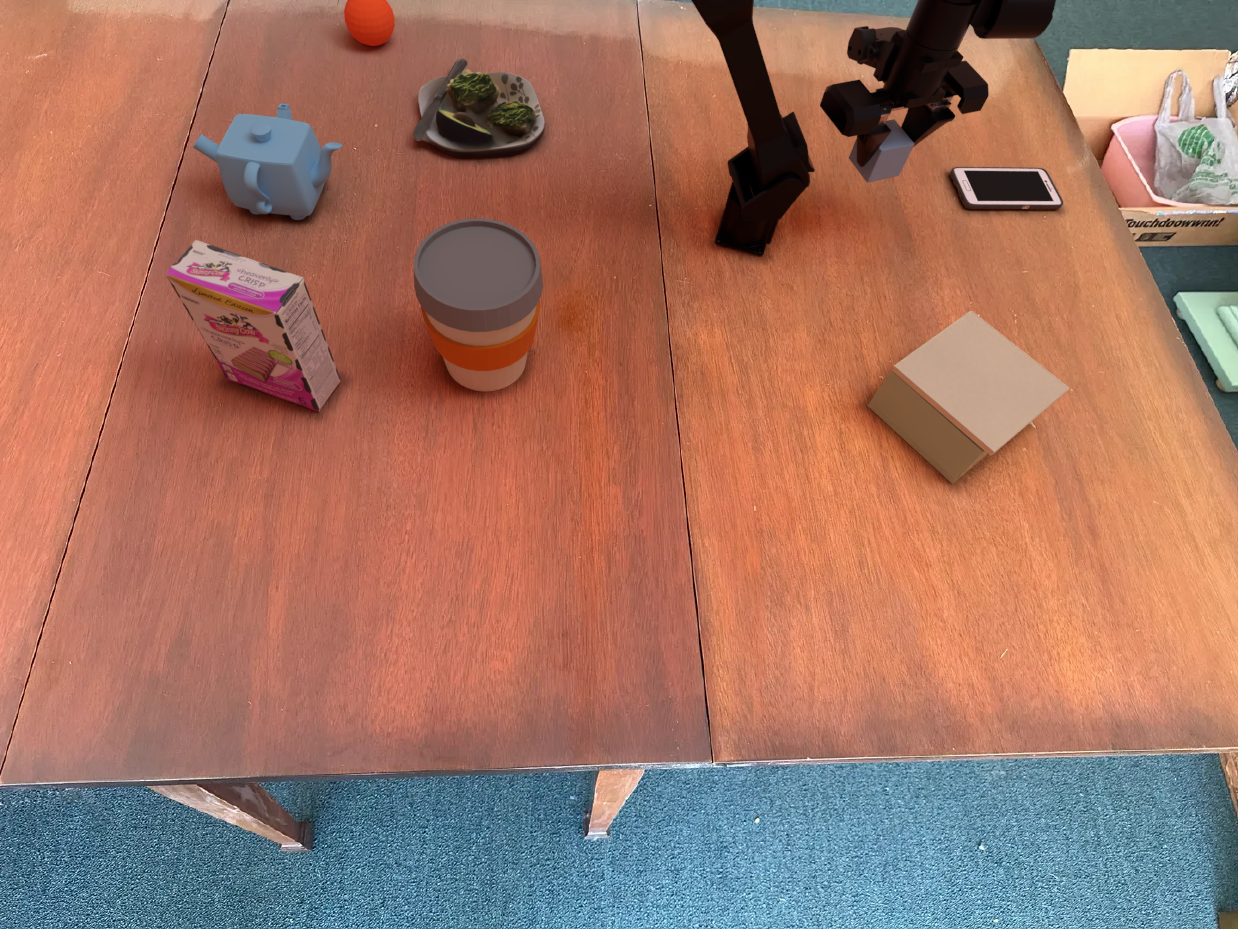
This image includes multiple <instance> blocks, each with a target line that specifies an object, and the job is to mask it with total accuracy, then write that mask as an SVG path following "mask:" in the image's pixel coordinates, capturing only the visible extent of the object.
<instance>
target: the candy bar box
mask: <svg viewBox="0 0 1238 929" xmlns="http://www.w3.org/2000/svg"><path fill="white" fill-rule="evenodd" d="M165 277H166V278H167V280H168V281H169V283H170V285H171V287H172V288H173V290H174V292H175V293H176V295H177V297H178V299H179V300H180V302H181V303H182V305H183V307H184V309H185V310H186V312H187V314H188V315H189V317H190V319H191V321H192V322H193V324H194V325H195V327H196V328H197V330H198V332H199V333H200V335H201V337H202V340H203V341H204V342H205V344H206V346H207V348H208V349H209V350H210V352H211V354H212V356H213V358H214V359H215V360H216V363H217V364H218V366H219V367H220V370H221V371H222V373H223V375H224V376H225V379H226V380H228V381H229V382H233V383H236V384H239V385H242V386H245V387H247V388H250V389H253V390H256V391H259V392H262V393H265V394H266V395H270V396H273V397H276V398H278V399H281V400H283V401H286V402H289V403H292V404H296V405H298V406H301V407H303V408H306V409H309V410H312V411H314V412H317V413H320V412H321V411H322V410H323V408H324V407H325V405H326V404H327V402H328V400H329V398H330V397H331V395H332V394H333V393H334V392H335V390H336V389H337V387H338V386H339V384H340V383H341V381H342V379H341V376H340V374H339V370H338V368H337V365H336V362H335V360H334V357H333V355H332V352H331V349H330V346H329V343H328V341H327V338H326V336H325V333H324V330H323V327H322V325H321V322H320V319H319V316H318V314H317V311H316V309H315V306H314V302H313V300H312V298H311V295H310V292H309V289H308V287H307V284H306V281H305V278H304V277H303V276H301V275H298V274H294V273H292V272H289V271H286V270H283V269H281V268H278V267H275V266H272V265H269V264H267V263H263V262H261V261H257V260H255V259H252V258H249V257H246V256H243V255H241V254H238V253H235V252H232V251H229V250H226V249H225V248H224V249H223V248H220V247H218V246H215V245H213V244H209V243H206V242H204V241H201V240H198V239H195V240H194V241H193V242H192V243H191V245H190V246H189V247H187V249H186V251H185V252H183V254H182V255H181V256H180V257H179V258H178V260H177V262H174V263H173V264H172V265H171V266H170V267H169V269H168V270H167V271H166V273H165Z"/></svg>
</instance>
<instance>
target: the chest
mask: <svg viewBox="0 0 1238 929" xmlns="http://www.w3.org/2000/svg"><path fill="white" fill-rule="evenodd" d="M867 408H869V409H870V410H871V411H872V412H873V413H875V415H877V416H878V417H879V419H881V420H882V421H883V422H885V424H887V426H888V427H890V428H891V429H892V430H893V431H894V432H895V433H896V434H898V436H900V437H901V438H902V439H903V441H905V442H906V443H907V444H908V445H909V446H910V447H912V449H913V450H915V451H916V452H917V453H918V454H919V455H920V456H921V457H922V458H923V459H924V460H926V462H927V463H929V465H931V466H932V467H933V468H934V469H935V470H936V471H937V472H939V474H940V475H941V476H943V477H944V478H945V479H946V480H947V481H948V482H949V483H951V484H952V485H953V484H954V483H956V482H957V481H958V480H959V479H960V478H961V477H962V476H964V475H965V474H966V473H967V472H968V471H969V470H971V469H972V468H973V467H974V466H975V465H977V464H978V463H979V462H980V461H981V460H983V458H985V457H986V456H987V455H989V454H988V453H987V452H985V451H984V450H983V449H982V448H981V447H980V446H978V445H977V444H976V443H975V442H974V441H973V440H972V439H970V438H969V437H968V436H967V435H966V434H965V433H963V432H962V431H961V430H960V429H959V428H958V427H956V426H955V425H954V424H953V423H952V422H951V421H950V420H948V419H947V418H946V417H945V416H944V415H943V414H941V413H940V412H939V411H938V410H937V409H936V408H935V407H933V406H932V405H931V404H930V403H929V402H928V401H926V400H925V399H924V398H923V397H922V396H921V395H919V394H918V393H917V392H916V391H915V390H914V389H913V388H911V387H910V386H909V385H908V384H907V383H906V382H904V381H903V380H902V379H901V378H900V377H899V376H898V375H896V374H895V373H894V372H893V371H892V370H891V369H890V371H889V372H888V374H887V375H886V377H885V378H884V380H883V382H882V383H881V384H880V386H879V387H878V389H877V390H876V392H875V393H874V395H873V396H872V398H871V400H870V401H869V402H868V404H867Z"/></svg>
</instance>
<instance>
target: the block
mask: <svg viewBox="0 0 1238 929" xmlns="http://www.w3.org/2000/svg"><path fill="white" fill-rule="evenodd" d="M886 125H887V126H888V127H889V128H890V129H891V133H890V134H889V135H888V137H887V138H886V139H885V141H884V142H883V143H882V144H881V146H880V147H879V148H878V150H877V151H876V152H875V154H874V155H873V156H872V158H871V159H870V160H869V161H868V162H867V163H866V165H865V166H863V167H860V166H859V164H858V163H857V138H856V139H855V142H854V143H853V146H852V148H851V151H850V153H849V156H848V159H849V161H850V162H851V163H852V165H853V166H854V167H855V169H856V170H857V172H858V173H859V174H860V175H861V177H862V178H863V179H864V181H865V182H866V183H867V184H868V183H873V182H874V183H875V182H877V181H882V180H886V179H891V178H897V177H900V175H901V173H902V171H903V169H904V167H905V165H906V163H907V161H908V159H909V157H910V155H911V153H912V150H913V148H914V147H915V146H914V142H913V141H912V140H911V139H910V138H909V136H908V135H907V134H906V133H905V131H904V130H903V129H902V128H901V125H900V124H899V123H898V122H897V120H896V119H894V118H893V119H889V120H888V119H887V120H886ZM913 146H914V147H913Z"/></svg>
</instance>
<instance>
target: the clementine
mask: <svg viewBox="0 0 1238 929" xmlns="http://www.w3.org/2000/svg"><path fill="white" fill-rule="evenodd" d="M339 3H340V0H337V4H336V6H338V5H339ZM343 17H344V23H345V26H346V28H347V31H348V32H349V33H350V34H351V36H352V37H353V38H354V39H355V40H356V41H358V42H359V43H360V44H363V45H366V46H369V47H378V46H381V45H383V44H385V43H386V42H388V41H389V40H390V38H391V36H392V35H393V33H394V30H395V26H396V22H395V21H396V20H395V18H396V17H395V13H394V11H393V8H392V7H391V4H390V3H389V2H388V0H347V1H346V2H345V5H344V10H343Z"/></svg>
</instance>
